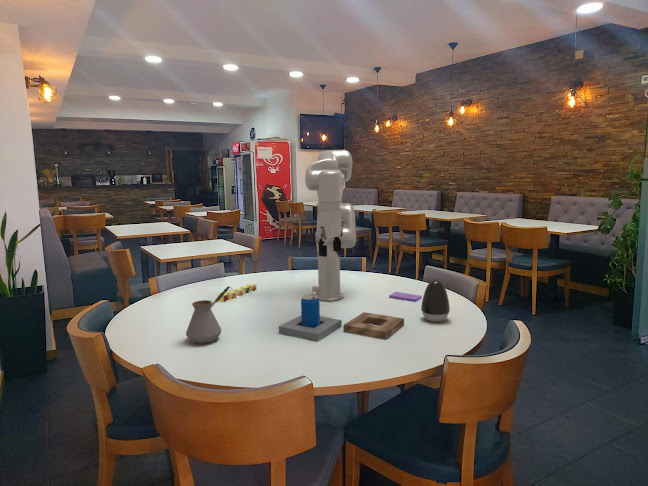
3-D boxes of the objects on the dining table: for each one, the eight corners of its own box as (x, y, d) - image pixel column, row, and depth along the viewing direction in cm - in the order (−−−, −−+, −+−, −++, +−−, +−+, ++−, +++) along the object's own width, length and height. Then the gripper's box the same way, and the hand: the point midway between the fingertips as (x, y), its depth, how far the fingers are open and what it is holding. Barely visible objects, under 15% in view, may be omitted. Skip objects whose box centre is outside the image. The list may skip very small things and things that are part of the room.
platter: (191, 301, 200) (190, 293, 200) (238, 284, 228) (238, 278, 227) (247, 310, 185) (247, 302, 184) (291, 292, 212) (291, 285, 211)
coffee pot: (206, 348, 144) (204, 303, 142) (178, 343, 149) (175, 299, 147) (245, 327, 163) (243, 287, 161) (219, 323, 168) (217, 284, 166)
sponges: (395, 295, 204) (395, 291, 203) (422, 299, 197) (422, 295, 196) (388, 299, 198) (388, 295, 197) (415, 303, 191) (415, 299, 191)
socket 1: (278, 333, 157) (278, 326, 156) (304, 320, 170) (304, 313, 170) (318, 341, 148) (318, 334, 148) (341, 326, 162) (341, 320, 162)
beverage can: (317, 333, 156) (317, 299, 154) (299, 332, 157) (298, 299, 155) (321, 327, 162) (321, 294, 160) (304, 326, 163) (303, 294, 161)
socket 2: (343, 331, 157) (343, 324, 157) (363, 318, 171) (363, 312, 170) (386, 339, 149) (386, 332, 149) (404, 325, 162) (404, 318, 162)
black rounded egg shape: (450, 316, 171) (451, 277, 169) (448, 325, 161) (449, 284, 159) (422, 314, 174) (423, 275, 172) (419, 323, 165) (420, 282, 162)
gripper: (333, 203, 169) (333, 248, 172) (306, 208, 155) (308, 257, 158) (350, 204, 165) (351, 250, 168) (325, 209, 151) (326, 259, 154)
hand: (330, 253), depth 163 cm, fingers open, 9 cm apart
